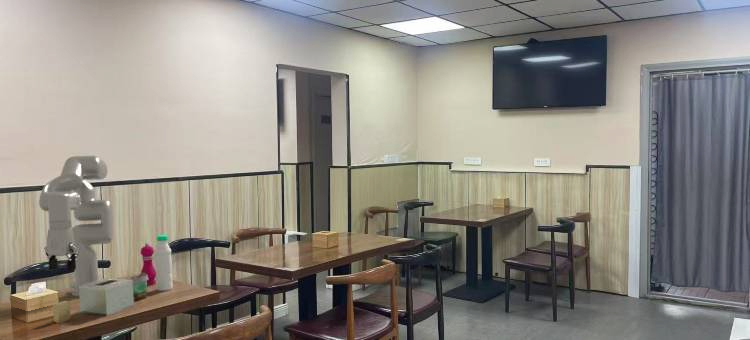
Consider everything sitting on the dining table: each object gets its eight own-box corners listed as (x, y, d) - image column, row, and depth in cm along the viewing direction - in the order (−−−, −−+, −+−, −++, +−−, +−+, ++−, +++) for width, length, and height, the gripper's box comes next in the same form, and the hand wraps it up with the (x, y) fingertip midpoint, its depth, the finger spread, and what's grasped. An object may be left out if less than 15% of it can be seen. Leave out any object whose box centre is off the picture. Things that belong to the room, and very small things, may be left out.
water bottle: (174, 287, 268) (172, 234, 267) (170, 291, 261) (167, 236, 260) (159, 287, 268) (157, 234, 267) (154, 291, 261) (151, 237, 260)
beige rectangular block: (54, 322, 218) (53, 304, 218) (65, 318, 223) (64, 300, 222) (58, 323, 217) (57, 304, 217) (70, 319, 222) (69, 301, 222)
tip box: (80, 312, 230) (79, 285, 229) (108, 303, 243) (107, 277, 242) (106, 315, 225) (105, 288, 224) (133, 306, 238) (132, 279, 237)
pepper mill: (151, 281, 281) (150, 241, 280) (159, 283, 276) (157, 242, 275) (137, 284, 275) (135, 243, 274) (145, 286, 271) (143, 244, 270)
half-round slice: (138, 302, 243) (137, 279, 242) (125, 302, 244) (124, 279, 243) (155, 295, 255) (154, 272, 254) (142, 294, 256) (141, 272, 256)
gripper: (35, 226, 219) (37, 270, 220) (68, 227, 213) (70, 272, 213) (53, 223, 226) (55, 266, 227) (85, 224, 220) (87, 268, 220)
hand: (62, 269), depth 220 cm, fingers open, 9 cm apart
